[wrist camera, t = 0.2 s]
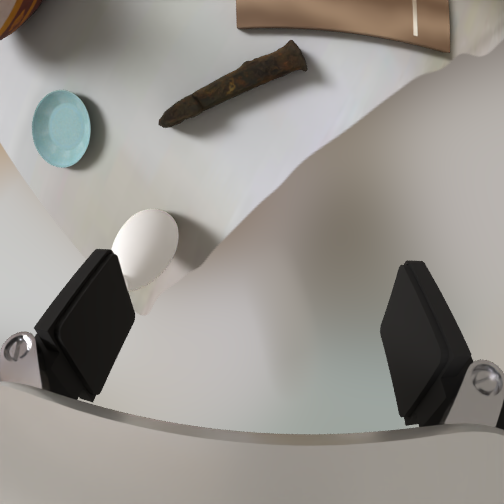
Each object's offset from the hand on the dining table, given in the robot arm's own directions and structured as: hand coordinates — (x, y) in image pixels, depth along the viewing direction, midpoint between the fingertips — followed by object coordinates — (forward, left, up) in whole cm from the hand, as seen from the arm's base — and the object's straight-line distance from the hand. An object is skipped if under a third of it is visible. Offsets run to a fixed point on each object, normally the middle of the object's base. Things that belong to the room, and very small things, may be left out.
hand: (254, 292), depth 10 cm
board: (-19, +9, -31) cm, 37 cm away
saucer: (-3, -30, -31) cm, 44 cm away
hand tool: (-5, -5, -32) cm, 32 cm away
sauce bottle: (+13, -16, -31) cm, 38 cm away
